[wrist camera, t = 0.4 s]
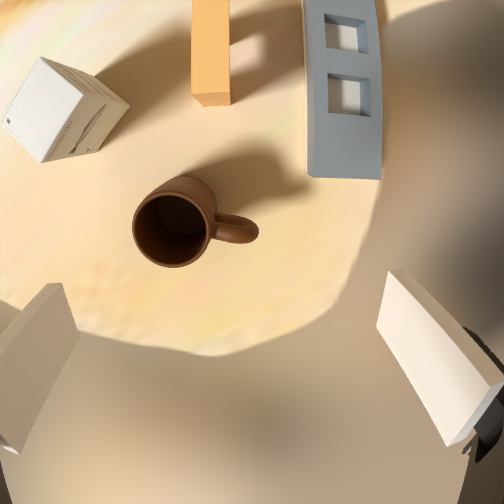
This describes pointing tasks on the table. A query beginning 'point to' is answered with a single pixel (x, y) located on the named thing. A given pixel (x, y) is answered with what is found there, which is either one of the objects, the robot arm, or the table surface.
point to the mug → (184, 223)
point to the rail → (342, 89)
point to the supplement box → (62, 112)
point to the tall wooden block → (210, 52)
